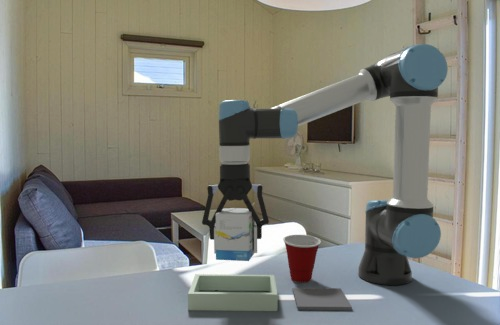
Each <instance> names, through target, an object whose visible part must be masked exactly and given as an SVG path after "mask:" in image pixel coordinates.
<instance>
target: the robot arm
mask: <svg viewBox="0 0 500 325" xmlns="http://www.w3.org/2000/svg"><path fill="white" fill-rule="evenodd" d="M448 67H449V66H448V63H447V59H446V57H445V55H444V54H443V52H441V51H440V50H439V49H438V47H435V45H431V44H427V43H419V44H413V45H409V46H407V47H405V48H403V49H401V50H399V51H396V52H394V53H392V54H389V55H387V56H386V57H384V58H382V59H381V60H378V61H377V62H375V63H373V64H371V65H369V66H367V67H365V68H362V69H360V70H359V72H358V74H357V75H356V74H355V75H353V76H351V77H348V78H345V79H343V80H340V81H338V82H335V83H332V84H330V85H327V86H324V87H323V88H319V89H317V90H314V91H312V92H309V93H306V94H305V95H301V96H299V97H295V98H293V99H291V100H288V101H285V102H283V103H281V104H278V105H275V106H273V107H269V108H253V107H251V106H250V102H249V101H248V100H245V99H228V100H223V101H221V103H219V104H218V105H219V108H218V136H219V138H218V139H219V140H218V141H219V143H218V144H219V146H218V147H219V148H218V149H219V151H218V154H219V162H220V165H219V182H218V184H214V185H212V184H209V185H208V186H207V187H206V189H207V200H206V202H205V208H204V211H203V212H204V213H203V215H202V216H203V217H202V221H201V224H202V225H204V226H207V227H208V228H209V239H210V240H213V245H214V246H213V249H214V251H213V253H214V255H216V213H218V212H221V211H222V209H224V208H225V205H226V203H227V202H228V201H229V202H230V201H231V202H232V201H235V200H236V201H243V203H244V204H245V206H246V209H248V210H249V212H251V214H252V217H253V219H254V221H255V225H254V254H258V240H261V239H262V238H263V237H262V234H263V232H262V229H263V228H262V227H263V226H264V225H268V224H269V223H270V221H269V217H268V213H267V209H266V205H265V201H264V198H263V197H264V196H263V185H262V184H261V183H258V184H255V183H254V184H253V183H252V181H251V165H250V164H249V162H250V160H251V158H250V157H251V156H250V155H251V154H250V153H251V152H250V150H251V148H250V139H254V140H255V139H263V140H264V139H271V140H272V139H282V140H284V139H292V138H293V139H294V138H295V137H296V136H297V133H298V129H299V126H303V125H305V124H307V123H310V122H313V121H315V120H318V119H320V118H323V117H326V116H328V115H331V114H333V113H337V112H338V111H341V110H343V109H346V108H349V107H352V106H354V105H357V104H359V103H363V102H365V101H370V102H374V101H375V102H376V101H378V100H379V99H383V98H387V97H389V100H390V101H391V102H392V103H393V104H394V106H395V115H394V116H395V120H394V122H395V124H394V147H393V148H394V149H393V152H394V153H393V178H392V179H393V180H392V196H391V197H390V198H389V199H372V200H368V201H367V203H366V206H365V207H366V208H365V229H364V230H365V234H364V235H365V236H364V237H365V238H364V242H365V244H364V245H365V246H364V251H363V254H362V257H361V260H360V262H359V266H358V268H357V269H358V273H357V274H358V277H359V278H360V279H362V280H363V281H366V282H370V283H373V284H379V285H385V286H401V285H406V284H409V283H411V282H412V280H413V279H412V278H413V275H412V274H413V271H412V269H411V264H410V262H409V261H410V260H409V258H410V259H411V258H412V259H420V258H421V259H422V258H424V257H428V255H431V253H432V252H433V251H434V250H436V249H437V247H438V245H439V244H440V241H441V237H442V233H441V227H440V224H439V223H438V222H437V220H436V219H435V218H434V204H433V203H432V202H431V201H430V200H429V199H428V198H429V197H428V189H429V188H428V187H429V163H430V141H431V140H430V138H431V112H432V105H433V104H434V103H435V102H436V101H437V100H438V98H439V87H440V86H441V85H442V84H443V83H444V81H446V78H447V75H448V70H449V69H448ZM217 190H219V192H220V193H221V194H222V195H223V197H222V199H220V202H219V204H218V206H217V208H216V210H215V211H214V214H213V216H212V218H211V220H210V219H209V217H210V212H211V208H212V204H213V199H214V195H215V194H216V193H217ZM251 190H253V192H254V193H255V194H256V195H257V200H258V204H259V208H260V212H261V215H262V219H261V218H260V216H259V215H258V213H257V211H256V210H255V208H254V205H253V204H252V202H251V200H250V198H249V197H248V194H249V192H250V191H251Z"/></svg>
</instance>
